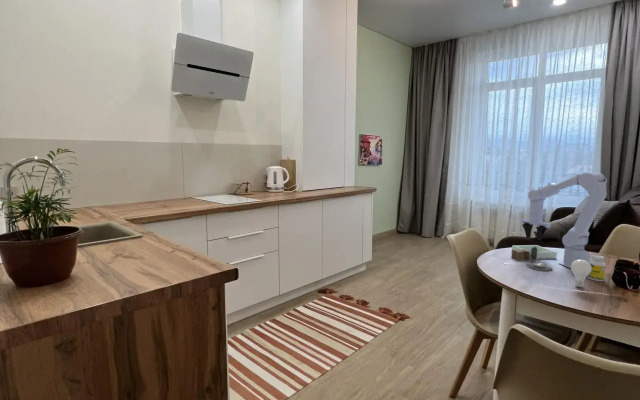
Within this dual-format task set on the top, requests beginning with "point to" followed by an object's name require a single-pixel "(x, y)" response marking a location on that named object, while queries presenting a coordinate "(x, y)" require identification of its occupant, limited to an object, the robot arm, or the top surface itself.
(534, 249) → the crank
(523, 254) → the brown wooden block
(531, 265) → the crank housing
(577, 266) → the lightbulb
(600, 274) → the supplement bottle
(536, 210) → the robot arm
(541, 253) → the tray
